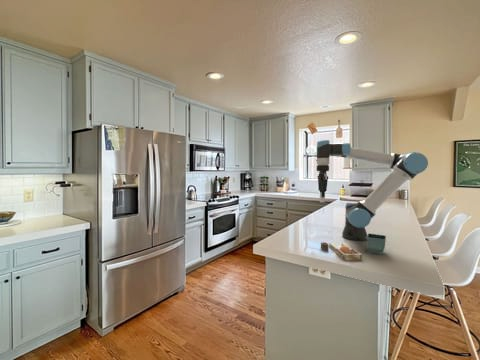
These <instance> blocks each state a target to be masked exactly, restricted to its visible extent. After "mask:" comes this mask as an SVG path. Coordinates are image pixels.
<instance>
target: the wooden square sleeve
mask: <svg viewBox="0 0 480 360" xmlns="http://www.w3.org/2000/svg"><path fill="white" fill-rule="evenodd" d="M320 250H322V251H329V243H328V242H325V241H324V242H323V241H322V242H320Z"/></svg>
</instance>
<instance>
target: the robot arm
mask: <svg viewBox="0 0 480 360" xmlns="http://www.w3.org/2000/svg"><path fill="white" fill-rule="evenodd" d="M330 156H335V157H337V158H338V157H341V158H343V159H344V158H346V159H349V160H354V161H360V162H365V163H370V164H374V165H381V166H385V167H387V168H388V169H391V170H392V171H391V172H390V174H389V175H387V177H385V178H384V179H383V181H381V183H379V184H378V185H377V186H376V188H374V190H373V191H371V193H369V195H368V196H366V198H365V199H363V200H359V201H357V203H356V202H346V203H345V207H344V208H345V215H344V216H345V221H344V223H345V224H344V227H343V230H342V233H341V236H342V238H344V239H347V240H353V241H367V236H368V232H367V230H366V227H367V226H369V224H370V223H371V220H372V218H374V217H375V216H376V213H377V212H376V211H377V210H378V209H379V208H380V207H381V206H382V205H383V204H384V203H385V202H387V200H388V199H390V198H391V196H393V194H394V193H395V192H397V190H399V189H400V187H402V185H404V183H406V182H407V181H412V180H414V178H415V177H416V176H417V175H419V174H421V173H423V172H424V171H426V170H427V168H428V165H429V161H428V158H427V156H426V155H424V154H423V153H421V152H416V151H413V152H409V153H391V154H389V153H385V152H380V151H373V150H369V149H363V148H358V147H354V146H353V147H352V146H351V143H350V142H335V143H332V142H331V141H330V140H328V139H320V140H318V141H317V142H316V159H315V161H316V171H317V172H318V175H317V185H318V191H319V203H326V202H325V201H326V199H325V198H326V192H327V189H328V180H329V176H328V175H327V172H330Z"/></svg>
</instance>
